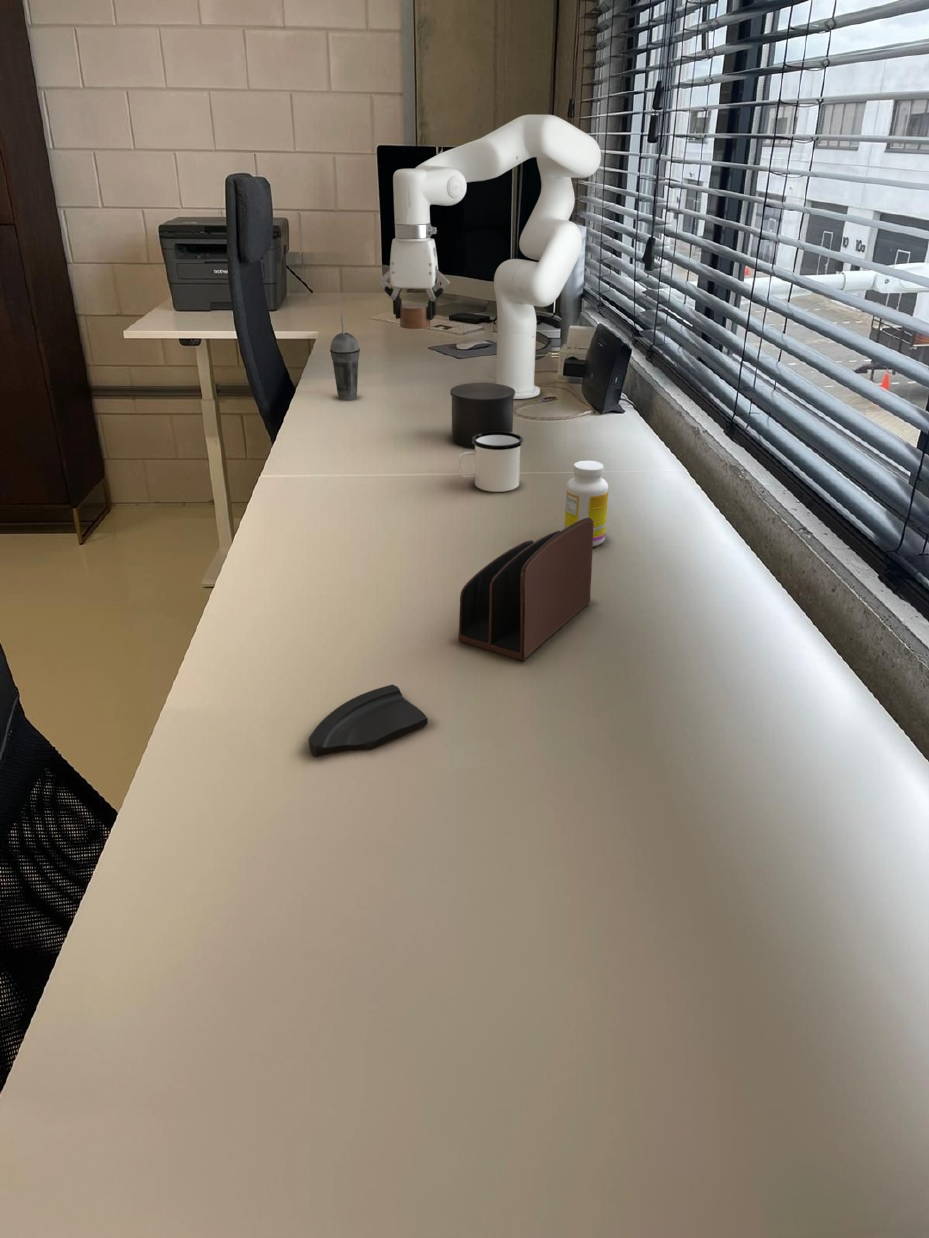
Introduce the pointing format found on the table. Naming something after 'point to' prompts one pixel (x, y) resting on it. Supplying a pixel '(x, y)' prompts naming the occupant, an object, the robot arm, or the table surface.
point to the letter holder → (528, 592)
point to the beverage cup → (345, 364)
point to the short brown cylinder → (414, 316)
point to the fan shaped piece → (366, 722)
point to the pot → (480, 411)
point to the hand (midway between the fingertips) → (415, 317)
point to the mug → (495, 461)
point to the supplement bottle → (588, 498)
